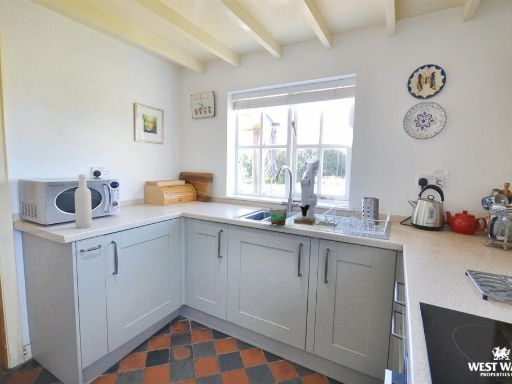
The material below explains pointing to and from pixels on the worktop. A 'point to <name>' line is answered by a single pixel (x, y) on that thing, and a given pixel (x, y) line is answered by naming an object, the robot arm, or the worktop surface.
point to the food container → (278, 216)
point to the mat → (326, 223)
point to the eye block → (304, 220)
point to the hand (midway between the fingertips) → (304, 216)
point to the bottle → (83, 204)
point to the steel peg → (305, 217)
